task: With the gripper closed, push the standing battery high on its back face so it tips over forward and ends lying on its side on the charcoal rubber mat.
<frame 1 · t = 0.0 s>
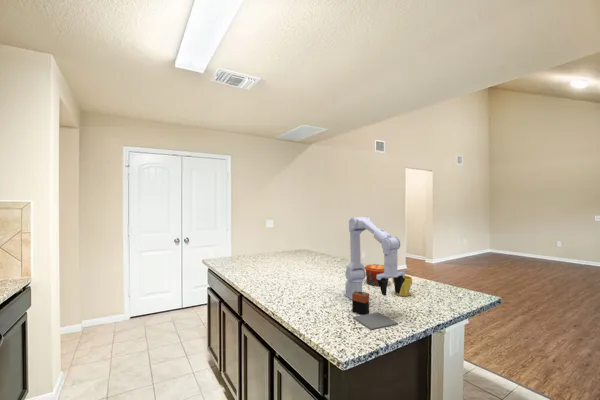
hand: (390, 294, 129), 10 cm above the worktop, tool pointing down, fingers open, 7 cm apart
food container: (377, 283, 181), on the worktop
mat: (374, 321, 124), on the worktop
battery: (360, 313, 133), on the worktop
plant pot: (402, 294, 160), on the worktop
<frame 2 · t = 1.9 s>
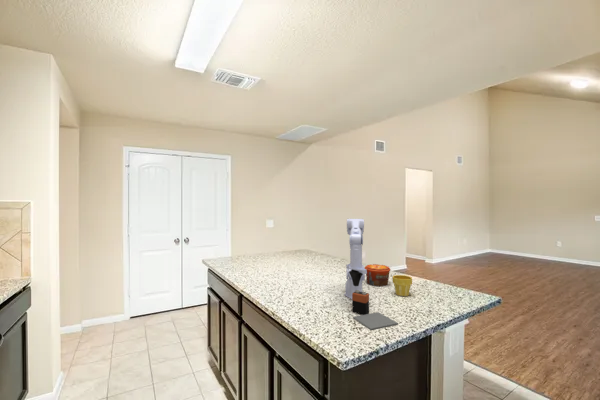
hand: (356, 285, 140), 10 cm above the worktop, tool pointing down, fingers closed
nothing on the worktop moved.
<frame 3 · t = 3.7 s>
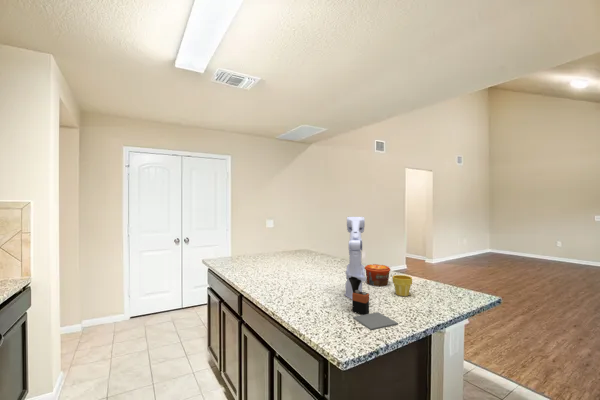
hand: (355, 292, 137), 8 cm above the worktop, tool pointing down, fingers closed, pressing on battery
battery: (360, 313, 133), on the worktop, touching gripper
everything else where it was.
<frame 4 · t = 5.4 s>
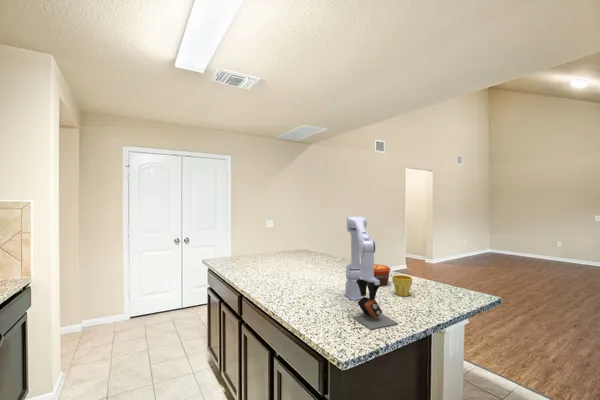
hand: (367, 297, 128), 9 cm above the worktop, tool pointing down, fingers open, 6 cm apart
battery: (363, 305, 131), point 4 cm above the worktop, touching gripper, mat
everything else where it was.
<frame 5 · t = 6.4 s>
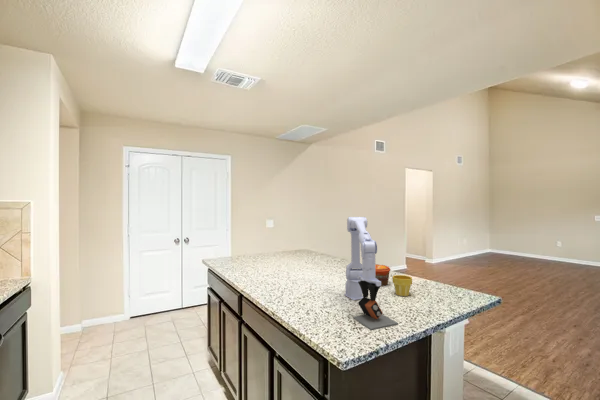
hand: (369, 298, 127), 9 cm above the worktop, tool pointing down, fingers open, 5 cm apart
nothing on the worktop moved.
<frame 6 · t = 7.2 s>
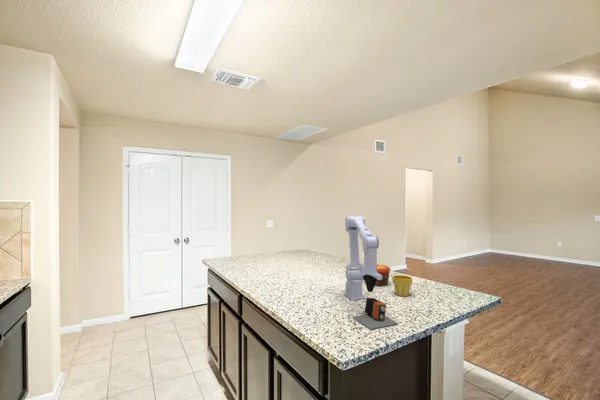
hand: (370, 291, 132), 10 cm above the worktop, tool pointing down, fingers closed
battery: (368, 304, 131), point 4 cm above the worktop, touching mat
everything else where it was.
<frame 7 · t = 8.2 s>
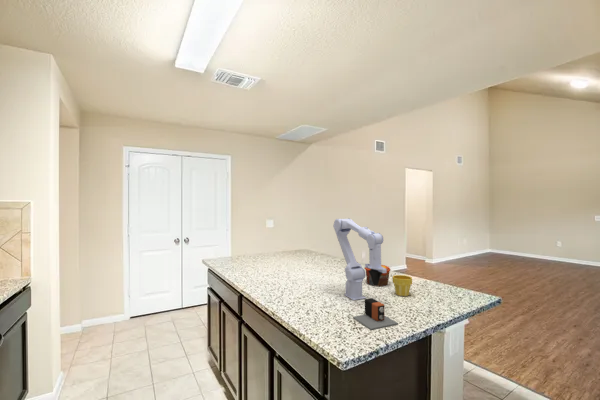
hand: (375, 284, 142), 10 cm above the worktop, tool pointing down, fingers closed
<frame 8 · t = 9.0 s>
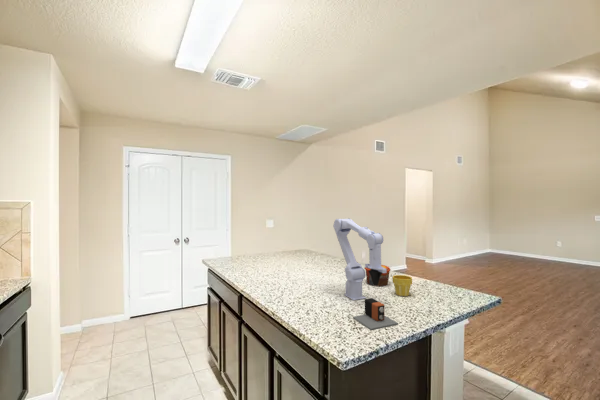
hand: (375, 284, 142), 10 cm above the worktop, tool pointing down, fingers closed
nothing on the worktop moved.
at the end: battery tilted 90°; battery inside the target area (2.4 cm from its centre), point 4.0 cm above the worktop; battery touching mat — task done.
